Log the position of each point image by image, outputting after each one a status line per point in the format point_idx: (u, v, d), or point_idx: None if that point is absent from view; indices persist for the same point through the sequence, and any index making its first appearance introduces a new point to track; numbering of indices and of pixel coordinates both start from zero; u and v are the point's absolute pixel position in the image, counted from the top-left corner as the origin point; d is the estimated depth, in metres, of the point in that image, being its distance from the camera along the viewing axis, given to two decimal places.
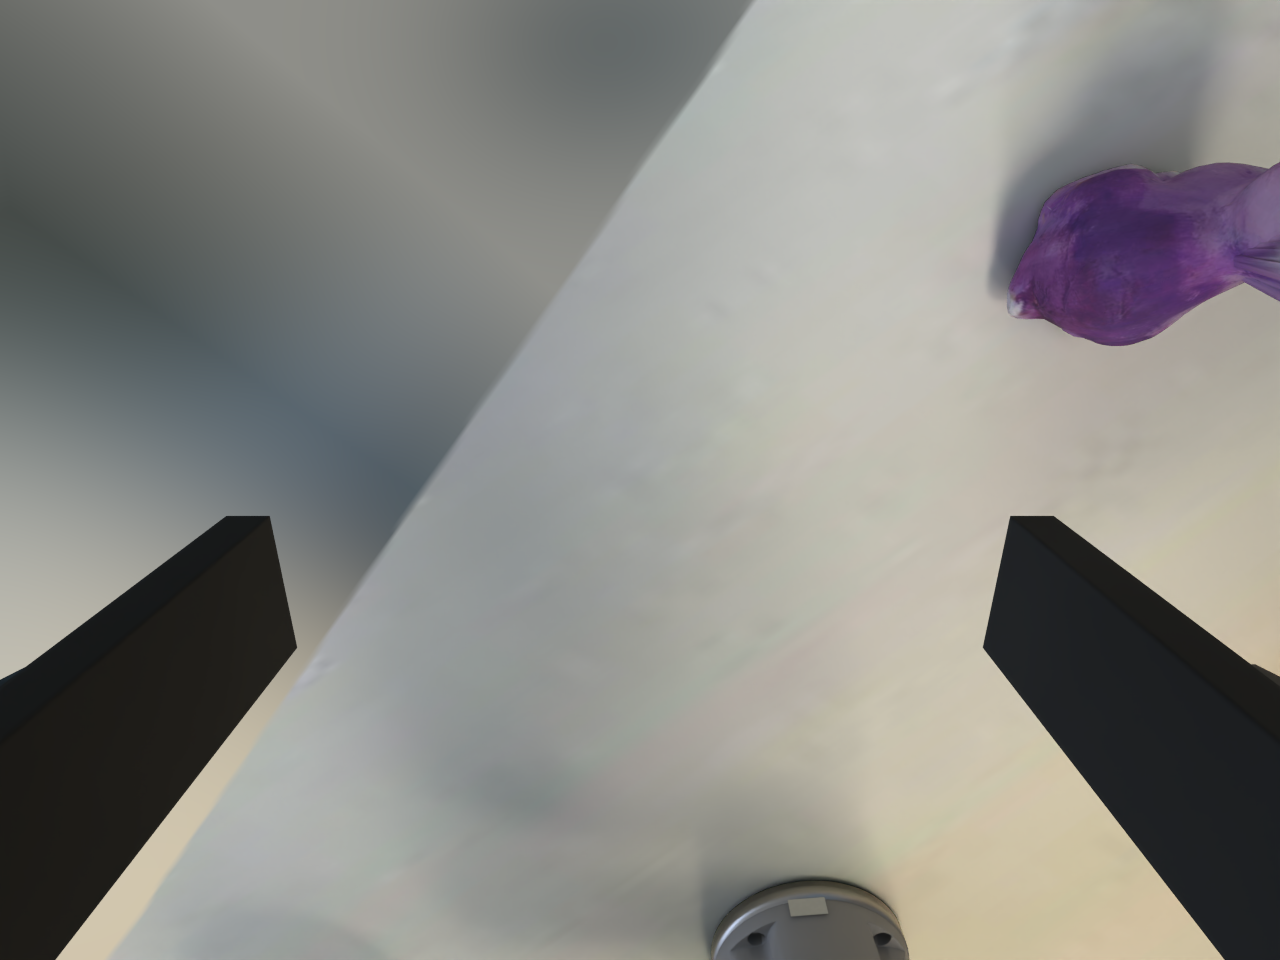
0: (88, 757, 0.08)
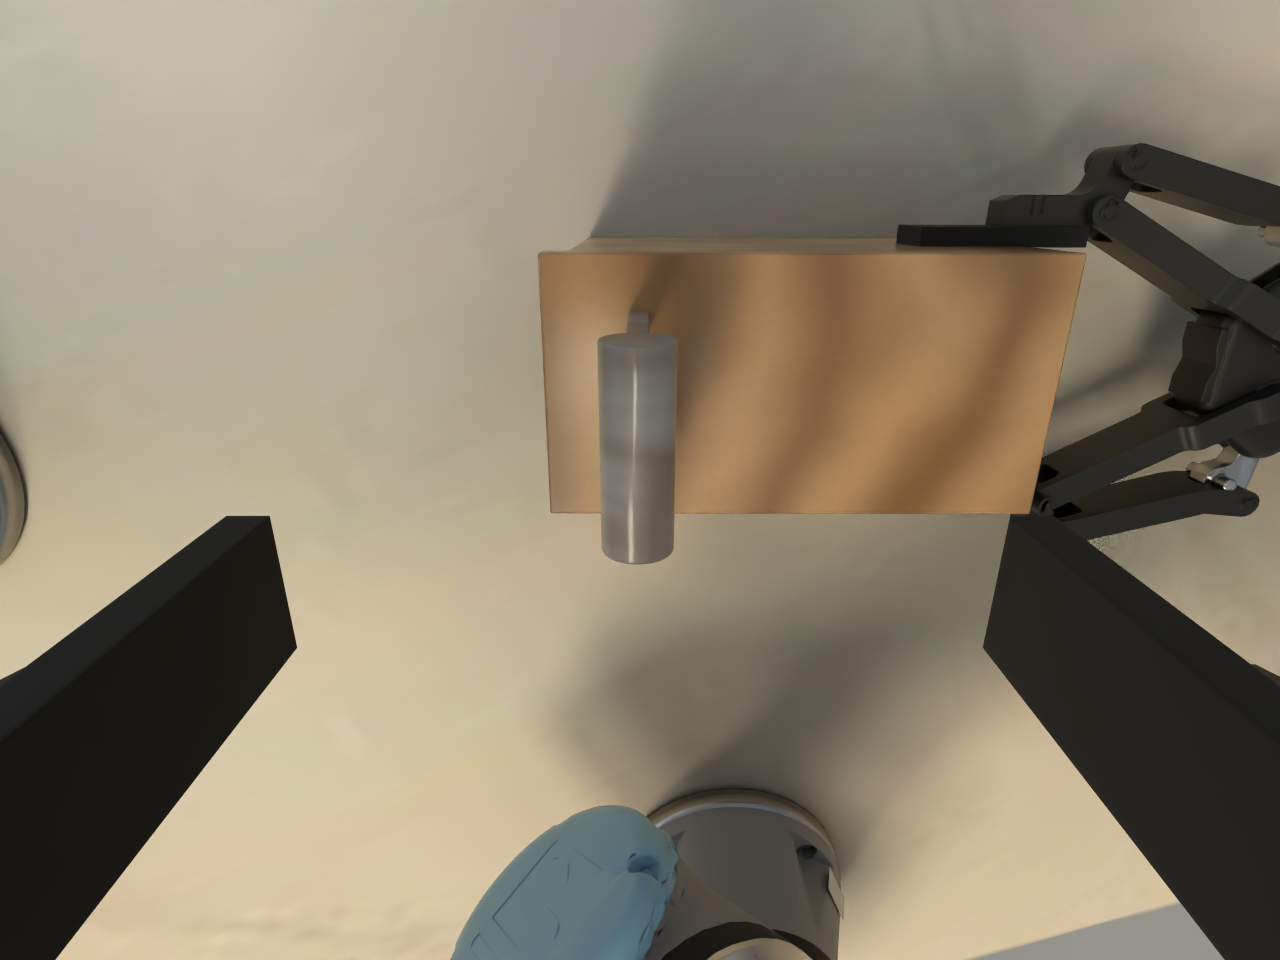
0: (88, 757, 0.08)
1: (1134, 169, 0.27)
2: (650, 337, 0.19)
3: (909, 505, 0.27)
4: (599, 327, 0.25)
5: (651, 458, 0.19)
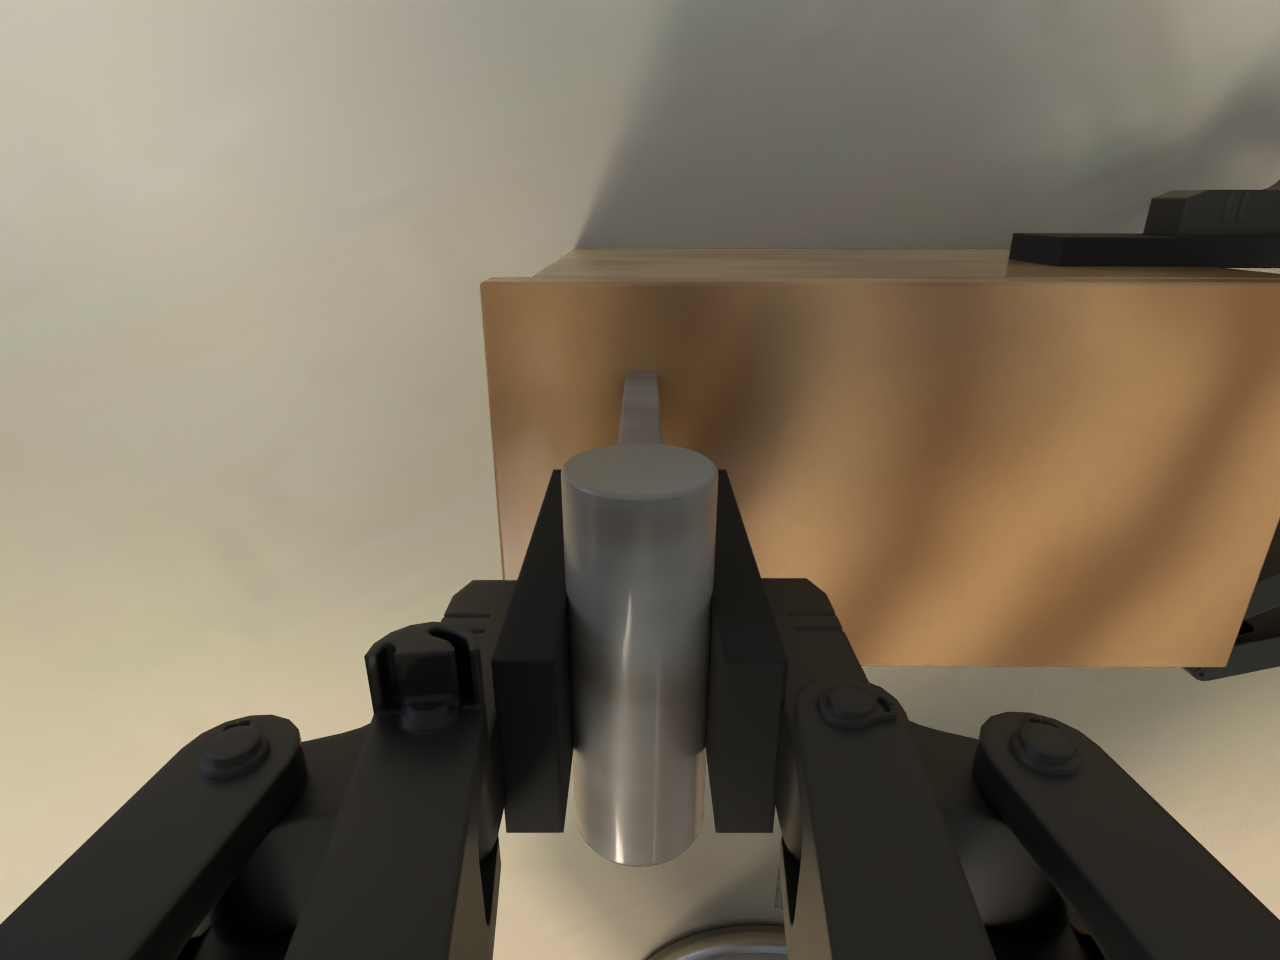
0: None
1: None
2: (664, 461, 0.10)
3: (1046, 654, 0.18)
4: (579, 397, 0.16)
5: (666, 695, 0.10)
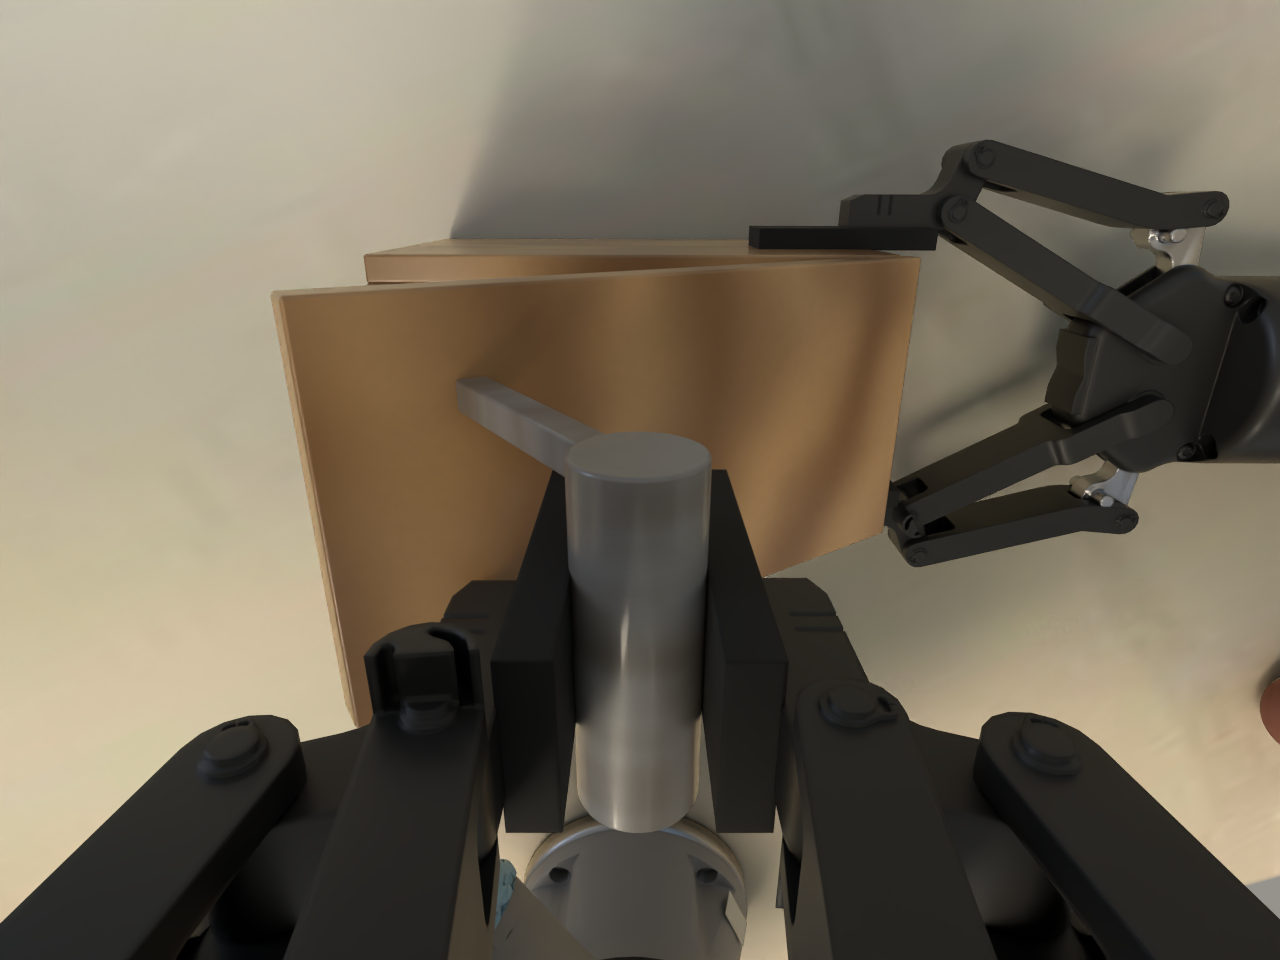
0: (570, 642, 0.10)
1: (982, 167, 0.25)
2: (649, 444, 0.10)
3: (791, 557, 0.23)
4: (409, 413, 0.14)
5: (694, 653, 0.11)
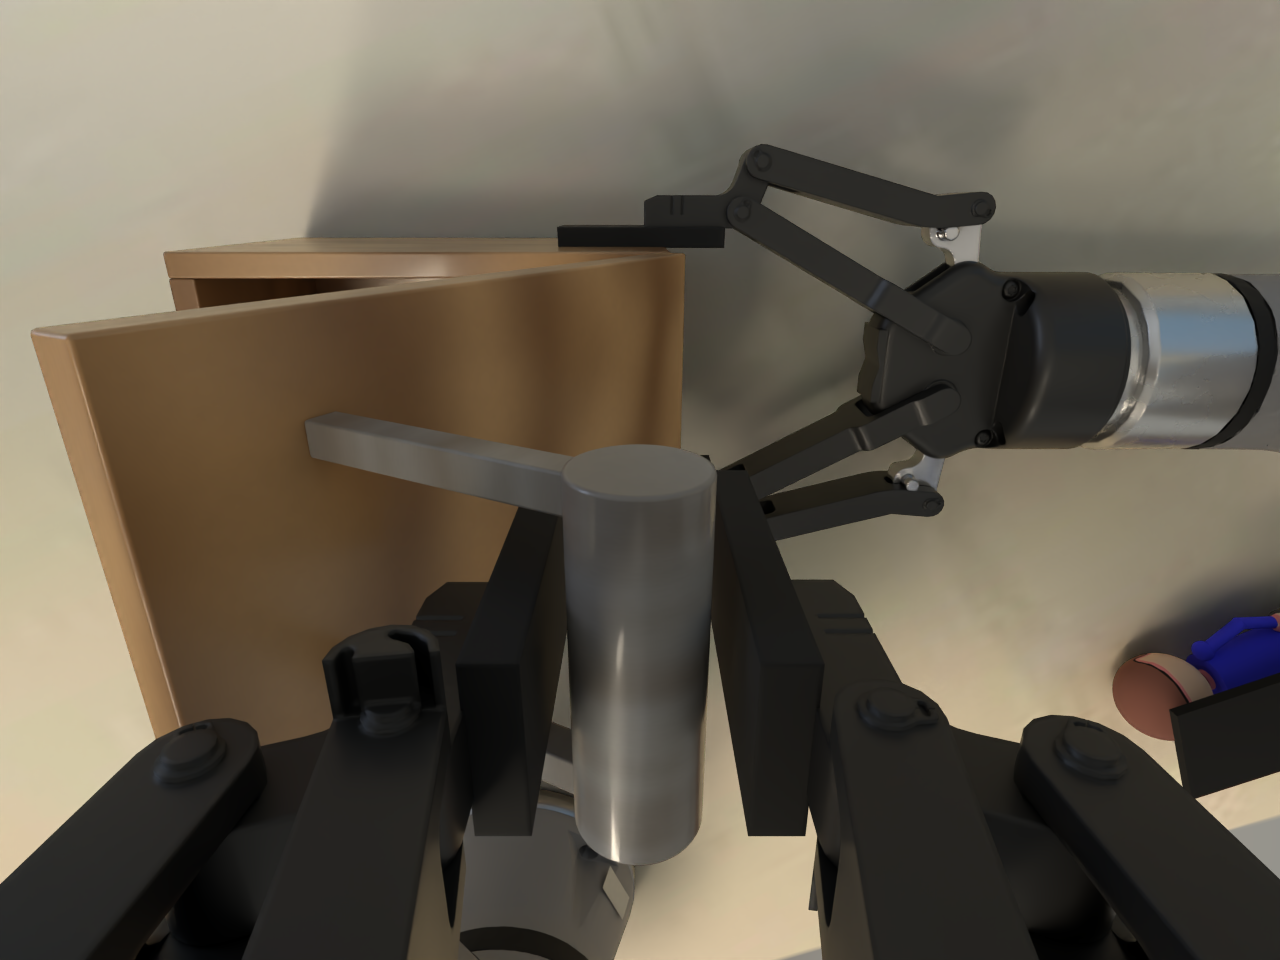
0: (543, 644, 0.10)
1: (760, 170, 0.27)
2: (637, 457, 0.10)
3: None
4: (254, 469, 0.11)
5: (708, 659, 0.10)
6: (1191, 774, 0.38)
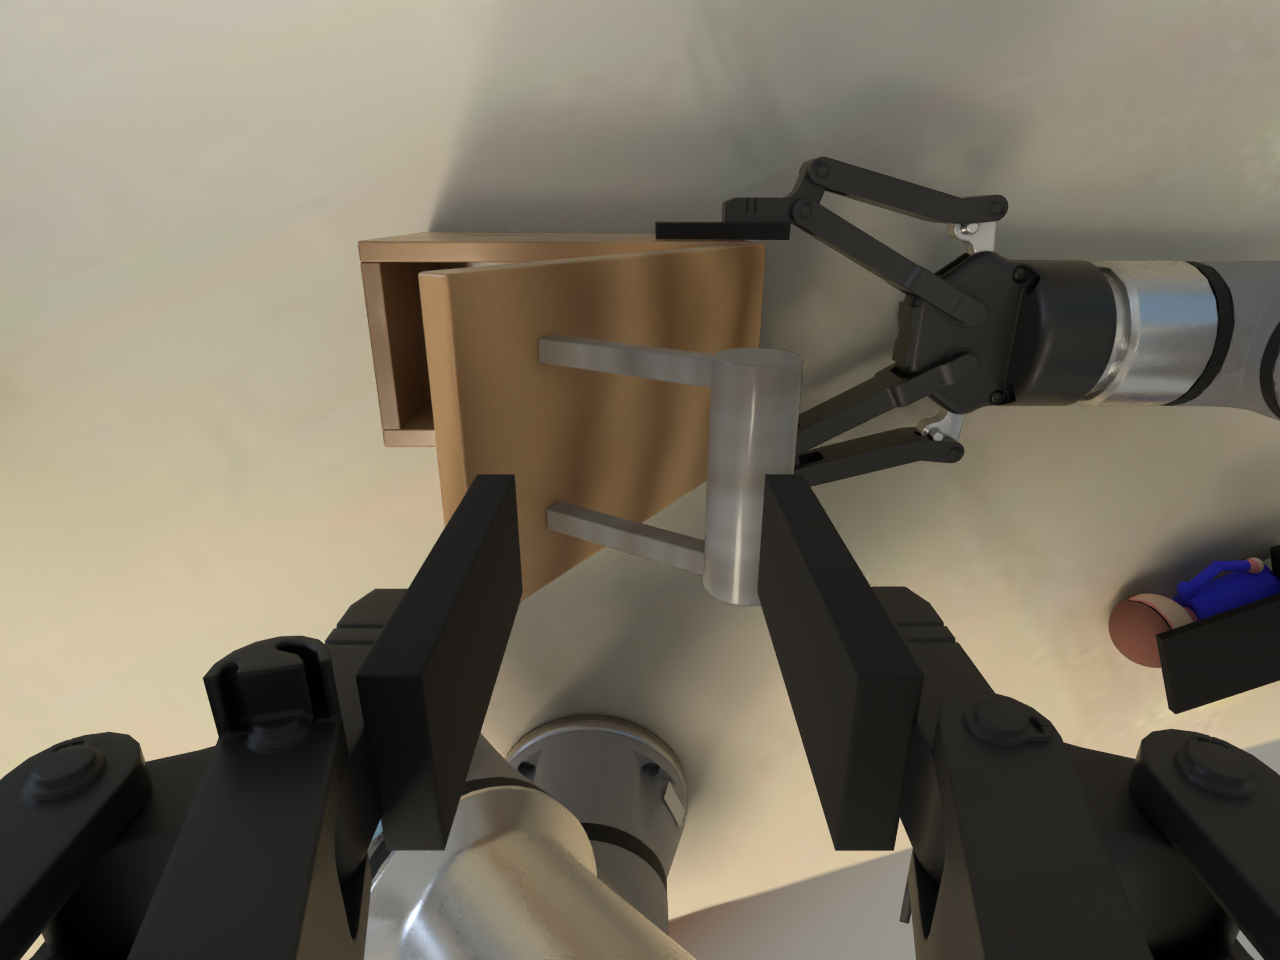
0: (465, 653, 0.10)
1: (820, 177, 0.33)
2: (755, 352, 0.17)
3: None
4: (513, 365, 0.19)
5: None
6: (1175, 691, 0.45)
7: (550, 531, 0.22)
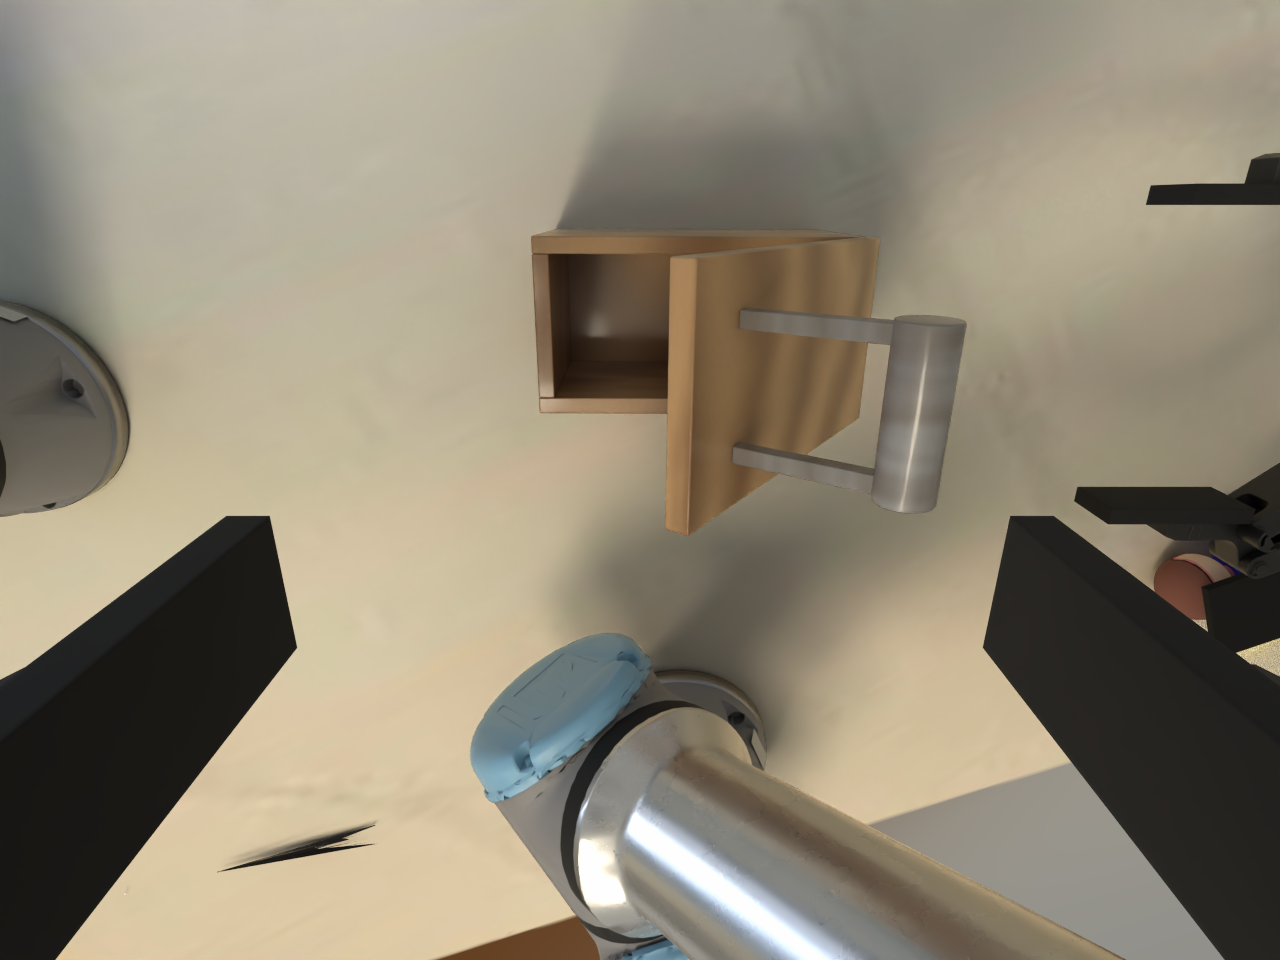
0: (88, 757, 0.08)
1: None
2: (925, 317, 0.22)
3: (829, 432, 0.36)
4: (725, 329, 0.24)
5: None
6: (1218, 638, 0.50)
7: (733, 466, 0.27)
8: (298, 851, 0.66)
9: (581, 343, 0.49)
